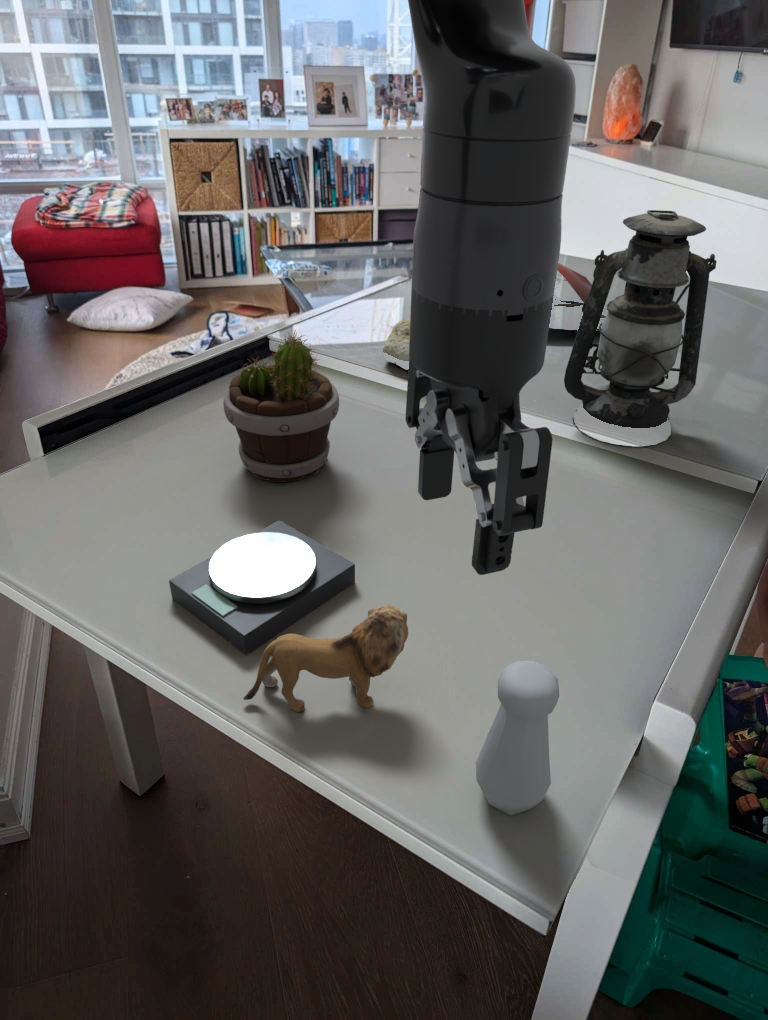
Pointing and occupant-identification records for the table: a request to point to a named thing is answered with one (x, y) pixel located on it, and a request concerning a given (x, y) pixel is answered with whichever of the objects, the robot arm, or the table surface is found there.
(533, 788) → the salt shaker
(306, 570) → the scale pan
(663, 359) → the lantern
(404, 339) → the decorative item
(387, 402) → the table surface
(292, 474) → the flowerpot
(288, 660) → the lion figurine
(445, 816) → the table surface
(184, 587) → the scale
